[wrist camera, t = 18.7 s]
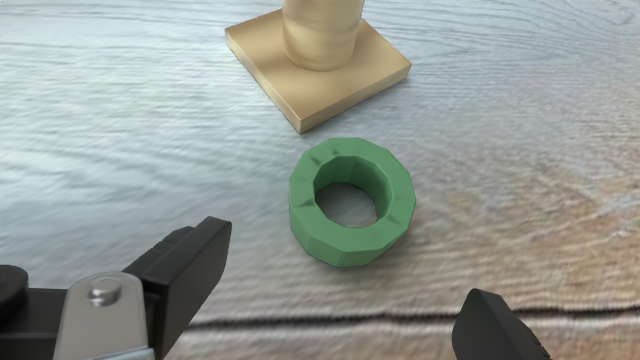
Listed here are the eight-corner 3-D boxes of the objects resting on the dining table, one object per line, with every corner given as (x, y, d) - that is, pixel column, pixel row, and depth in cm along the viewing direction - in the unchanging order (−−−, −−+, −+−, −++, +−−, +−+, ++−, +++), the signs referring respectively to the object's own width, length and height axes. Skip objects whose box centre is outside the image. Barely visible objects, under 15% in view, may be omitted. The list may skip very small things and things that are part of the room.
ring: (269, 198, 19) (265, 173, 16) (351, 150, 21) (361, 120, 18) (332, 290, 17) (341, 279, 14) (417, 226, 19) (440, 205, 16)
